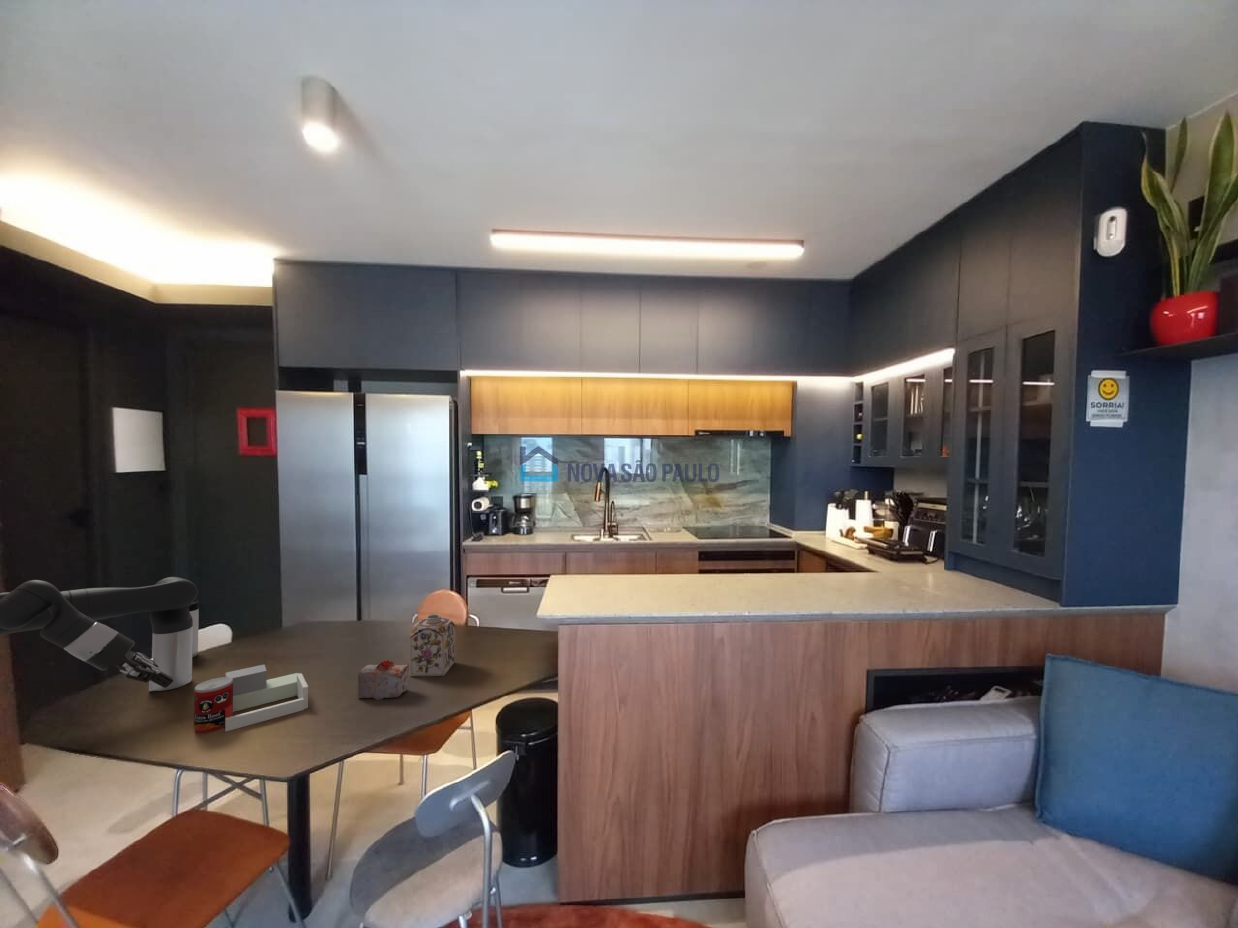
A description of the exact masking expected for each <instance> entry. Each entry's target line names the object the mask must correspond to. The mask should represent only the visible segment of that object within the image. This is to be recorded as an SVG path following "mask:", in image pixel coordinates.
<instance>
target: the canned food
mask: <svg viewBox="0 0 1238 928" xmlns="http://www.w3.org/2000/svg"><path fill="white" fill-rule="evenodd" d="M193 693H194V696H193V699H194V701H193V729H194V731H195V732H196V733H199V734H200V733H201V734H202V733H205V734H206V733H210V732H214V731H217V730H220V729H222V728H224V727H225V718H228V717H231V716H234V714H233V713H234V712H233V679H232V678H230V677H226V676H222V677H215V678H211V679H207V680H206V681H205V680H204V681H203V682H202V681H201V682H200V683H198V684H197V685H195V687H194V690H193Z"/></svg>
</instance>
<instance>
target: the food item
mask: <svg viewBox="0 0 1238 928" xmlns="http://www.w3.org/2000/svg"><path fill="white" fill-rule="evenodd" d="M409 672H410V664H394V661H392V660H391V661H390V660H384V661H381V662H380V663H378V664H367V665H365V666H364V667H362V668H361V669H360V670H359V671H358V673H357V675H358V677H357V678H358V679H357V680H358V683H357V684H358V685H357V690H358V692H357V698H358V699H365V698H366V699H367V698H368V699H374V700H378V701H379V700H383V699H388V698H389V699H393V698H398V697H400V696H401V695H402V694H404V693H405V692H406V691H408V675H409V674H408V673H409Z"/></svg>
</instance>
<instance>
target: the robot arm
mask: <svg viewBox="0 0 1238 928" xmlns="http://www.w3.org/2000/svg"><path fill="white" fill-rule="evenodd" d="M198 594H199V589H198V587H197V585H196V584H195V583H194V582H192V581H190V580H189V579H186V578H182V577H178V576H170V577H166V578H162V579H160V580H159V581H157V582H156V583H155V584H153V585H147V586H139V587H90V588H89V587H88V588H81V589H71V590H63V591H60V590H59V589H58V588H57V587H56V586H55V585H54V584H52V583H50V582H48V581H45V580H40V579H39V580H38V579H32V580H31V579H30V580H28V581H25V582H23V583H22V584H20V585H18V586H17V587H15V588H14V589H13V590H11V591H10V592H0V636H4V635H9V634H14V633H15V634H16V633H21V632H28V631H35V630H40V632H39V636H40V637H41V638H43V639H44V640H46V641H47V642H49V643H51V644H53V645H56V646H58V647H59V648H61V649H63V650H64V651H66V652H67V653H68V654H70V656H71V655H72V656H73V657H75V658H77V659H78V660H81V661H83V662H85V663H87V664H89V665H90V666H92V667H94V668H96V669H98V670H100V671H106V670H108V669H110V667H112V666H115V667H117V668H118V671H119V672H121V673H123V674H125V677H126V678H127V679H129V680H130V679H131V680H135V681H138V682H143V683H148V692H162V691H163V692H164V691H169V690H174V689H177V688H181V687H184V686H185V685H187V684H190V683H191V682H192V679H193V657H192V634H193V619H192V616H191V614H190V612H189V604H190V603H192V602H193V601H194V600H197V596H198ZM144 612H145V613H146V612H149V618H150V620H149V621H150V625H151V629H152V631H151V632H152V639H151V640H152V641H151V642H152V644H151V658H150V657H148V656H147V654H145V653H144V652H139V651H137V652H134V651H132V650H131V649H132V648H133V647H134V646H135V644H136V642H135V640H133V639H131V638H130V637H127V636H126V635H125V634H123V633H121V632H119V631H117V630H115V629H114V628H111V627H110V626H108V625H106V624H103V623H101V622H98V621H100V620H105V619H111V618H116V617H121V616H125V615H130V614H137V613H144Z"/></svg>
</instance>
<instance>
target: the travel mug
mask: <svg viewBox="0 0 1238 928" xmlns="http://www.w3.org/2000/svg"><path fill="white" fill-rule="evenodd" d="M199 609H200V608H199V600H198V599H195V600H194V601H193V602H192V603H190V604H189V612H190V614H191V616H192V619H193V634H192V658H194V657H196V656H197V655H199V621H200V620H199V617H200V616H199Z"/></svg>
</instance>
